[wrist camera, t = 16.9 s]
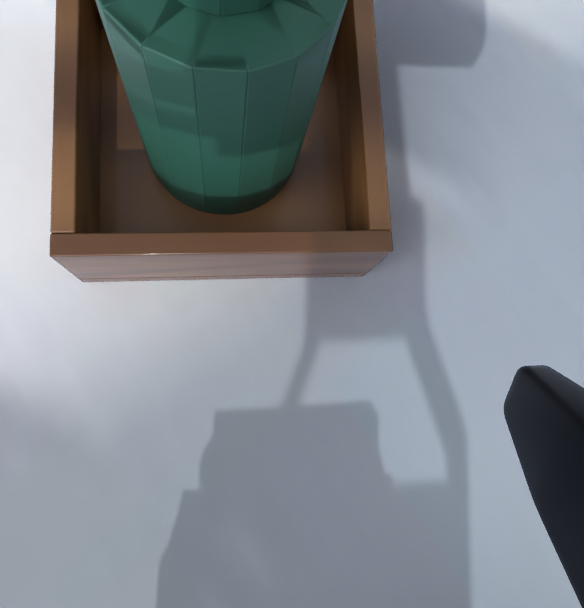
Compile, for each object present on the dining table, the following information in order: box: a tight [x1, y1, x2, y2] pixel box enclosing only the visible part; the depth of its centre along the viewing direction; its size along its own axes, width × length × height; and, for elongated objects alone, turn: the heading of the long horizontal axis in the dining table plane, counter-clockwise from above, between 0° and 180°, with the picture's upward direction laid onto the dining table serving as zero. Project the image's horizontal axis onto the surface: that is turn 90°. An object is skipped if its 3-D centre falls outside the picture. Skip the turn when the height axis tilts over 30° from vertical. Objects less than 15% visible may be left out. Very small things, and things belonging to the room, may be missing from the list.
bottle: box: [95, 0, 347, 215], centre depth 16 cm, size 6×6×13 cm
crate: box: [50, 0, 393, 282], centre depth 21 cm, size 12×12×4 cm
